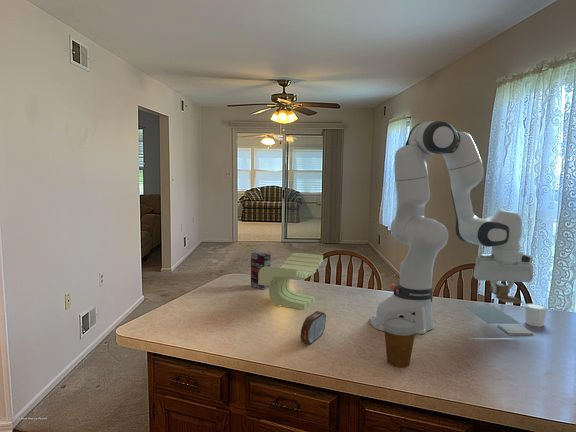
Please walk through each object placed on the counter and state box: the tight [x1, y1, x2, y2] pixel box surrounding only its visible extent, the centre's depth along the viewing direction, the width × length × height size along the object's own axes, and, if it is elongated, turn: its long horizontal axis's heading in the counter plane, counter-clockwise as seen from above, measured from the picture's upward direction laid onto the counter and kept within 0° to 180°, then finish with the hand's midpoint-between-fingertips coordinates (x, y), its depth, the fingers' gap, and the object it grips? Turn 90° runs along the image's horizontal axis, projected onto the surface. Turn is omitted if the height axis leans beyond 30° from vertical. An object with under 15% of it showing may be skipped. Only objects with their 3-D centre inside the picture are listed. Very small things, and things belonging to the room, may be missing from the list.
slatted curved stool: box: [258, 252, 324, 310], centre depth 179 cm, size 30×16×18 cm, turn 156°
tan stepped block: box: [489, 281, 523, 304], centre depth 156 cm, size 14×6×4 cm, turn 1°
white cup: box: [524, 303, 548, 327], centre depth 157 cm, size 7×7×7 cm
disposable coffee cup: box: [383, 317, 417, 368], centre depth 124 cm, size 10×10×12 cm
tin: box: [300, 310, 327, 345], centre depth 141 cm, size 15×3×8 cm, turn 152°
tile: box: [497, 323, 534, 336], centre depth 150 cm, size 8×2×8 cm
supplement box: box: [250, 251, 272, 290], centre depth 201 cm, size 9×5×16 cm, turn 50°
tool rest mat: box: [464, 305, 522, 325], centre depth 167 cm, size 12×20×1 cm, turn 1°
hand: (500, 292), depth 158 cm, fingers closed on tan stepped block, 2 cm apart
